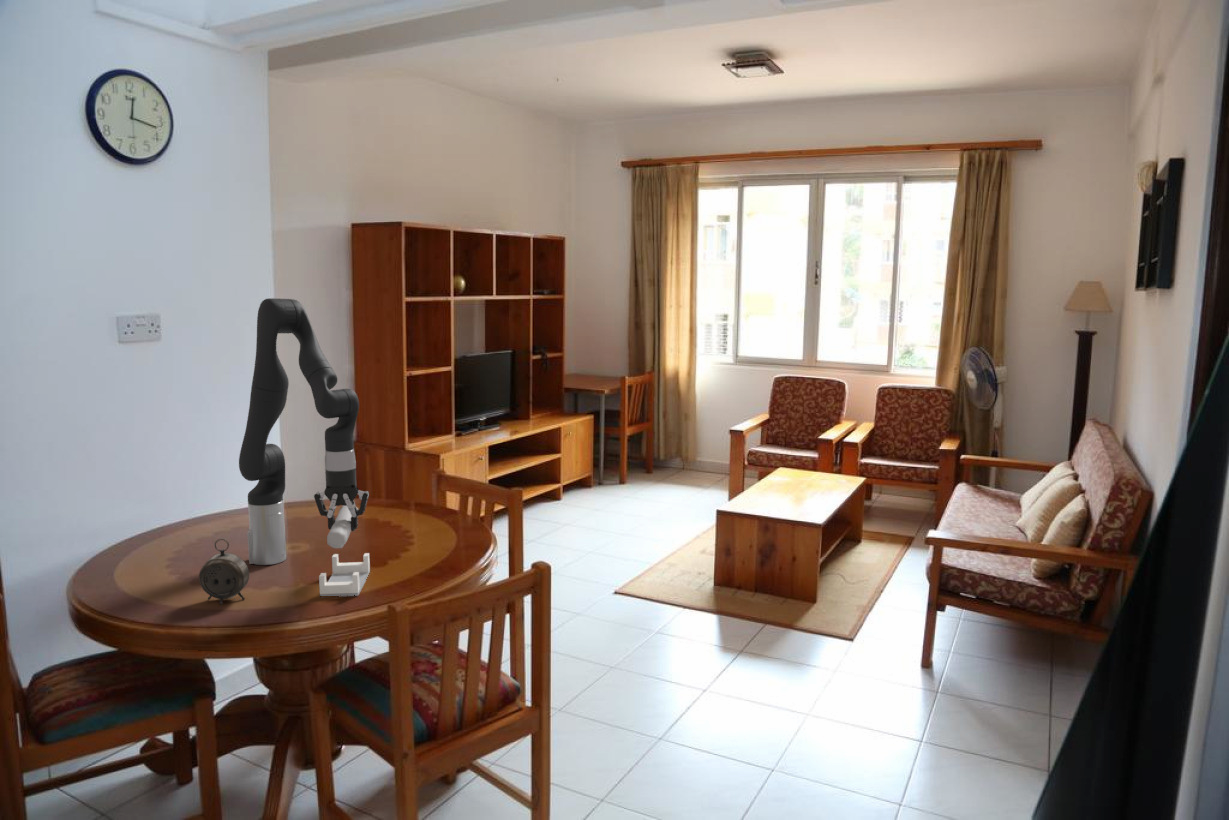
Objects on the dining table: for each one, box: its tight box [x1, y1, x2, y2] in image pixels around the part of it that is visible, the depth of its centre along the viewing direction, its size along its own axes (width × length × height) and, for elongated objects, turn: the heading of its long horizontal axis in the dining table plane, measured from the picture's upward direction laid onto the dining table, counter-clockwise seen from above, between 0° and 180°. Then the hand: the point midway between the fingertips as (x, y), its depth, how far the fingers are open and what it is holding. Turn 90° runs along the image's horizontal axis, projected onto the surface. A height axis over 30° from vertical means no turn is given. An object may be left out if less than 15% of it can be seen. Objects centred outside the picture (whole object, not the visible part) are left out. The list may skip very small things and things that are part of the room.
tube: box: [326, 505, 359, 549], centre depth 226 cm, size 5×5×25 cm
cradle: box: [318, 552, 371, 597], centre depth 228 cm, size 9×17×6 cm, turn 6°
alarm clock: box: [198, 538, 250, 605], centre depth 215 cm, size 11×5×16 cm, turn 92°
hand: (343, 530), depth 226 cm, fingers closed on tube, 4 cm apart
